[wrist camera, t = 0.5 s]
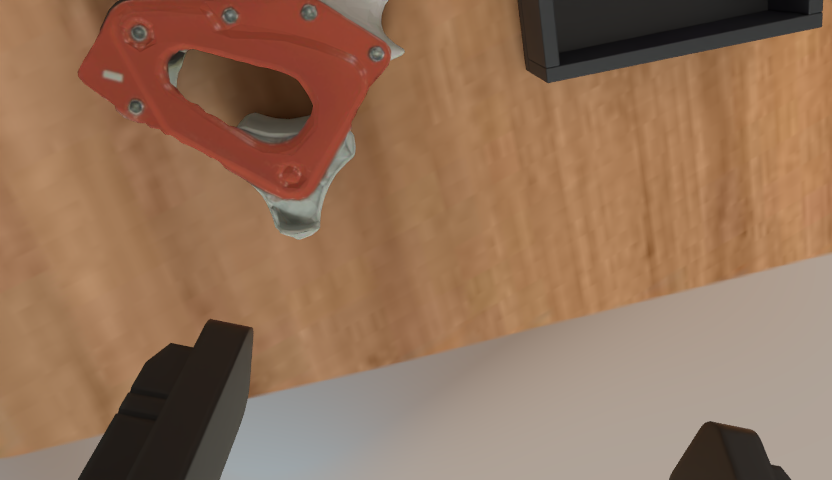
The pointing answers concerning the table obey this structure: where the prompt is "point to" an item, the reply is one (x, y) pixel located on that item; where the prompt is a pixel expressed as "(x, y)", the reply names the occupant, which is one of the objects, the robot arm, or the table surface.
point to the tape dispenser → (261, 46)
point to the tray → (647, 30)
